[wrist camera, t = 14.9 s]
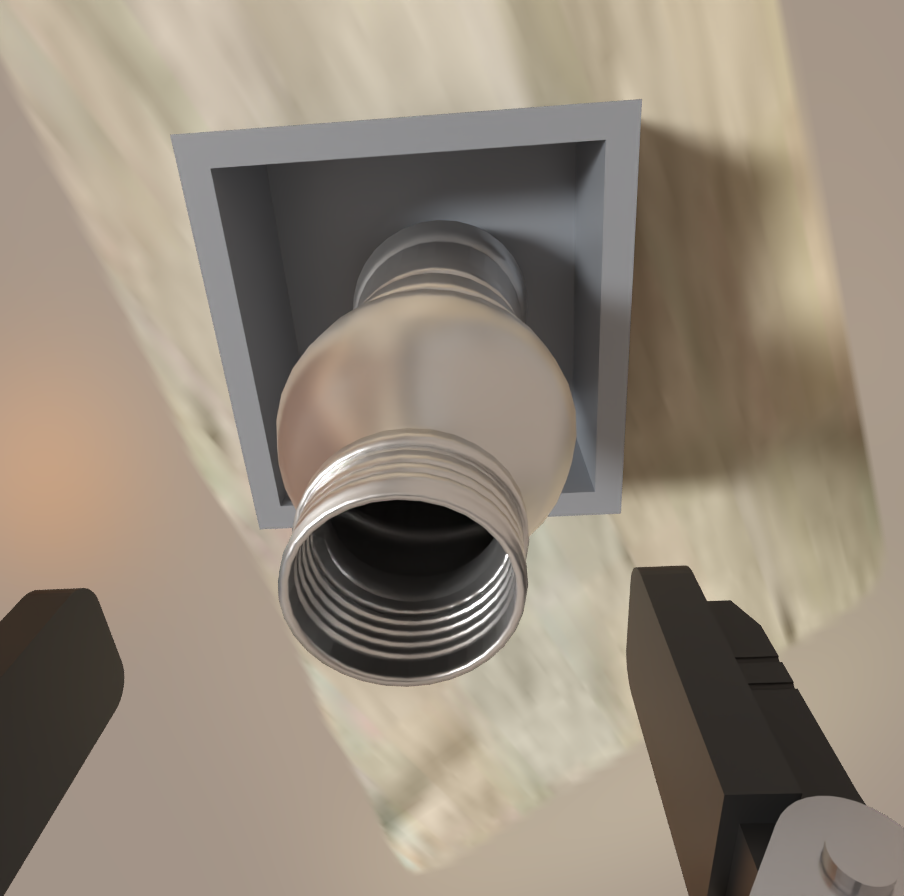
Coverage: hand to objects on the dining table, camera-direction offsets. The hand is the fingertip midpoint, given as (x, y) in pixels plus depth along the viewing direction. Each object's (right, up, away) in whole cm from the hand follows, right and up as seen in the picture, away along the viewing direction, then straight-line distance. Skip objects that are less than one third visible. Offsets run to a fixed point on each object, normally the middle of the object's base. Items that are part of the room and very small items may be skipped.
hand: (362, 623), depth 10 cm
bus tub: (+1, +9, +19) cm, 21 cm away
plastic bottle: (+1, +9, +18) cm, 20 cm away
